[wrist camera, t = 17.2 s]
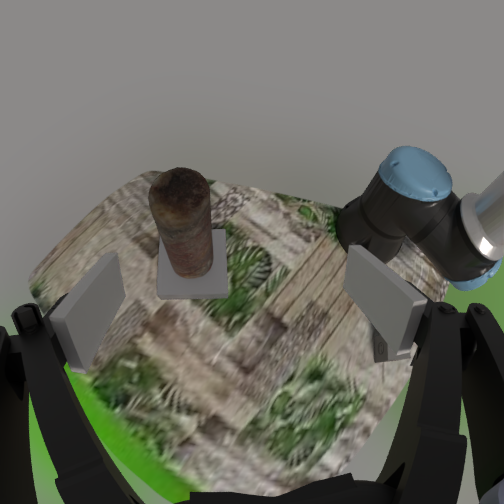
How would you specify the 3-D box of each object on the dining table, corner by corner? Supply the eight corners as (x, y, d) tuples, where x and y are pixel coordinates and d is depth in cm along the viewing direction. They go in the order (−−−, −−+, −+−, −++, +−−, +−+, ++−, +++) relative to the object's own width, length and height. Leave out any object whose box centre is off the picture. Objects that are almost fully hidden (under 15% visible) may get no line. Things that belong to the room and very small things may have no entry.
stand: (225, 236, 54) (225, 228, 51) (227, 298, 49) (228, 293, 46) (163, 238, 53) (160, 231, 50) (160, 299, 48) (156, 294, 45)
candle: (215, 241, 50) (210, 165, 32) (216, 280, 47) (209, 218, 29) (172, 242, 49) (147, 168, 31) (171, 281, 46) (138, 221, 28)
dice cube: (373, 336, 48) (386, 332, 43) (394, 335, 48) (408, 331, 44) (374, 362, 46) (388, 360, 41) (396, 360, 46) (410, 358, 42)
